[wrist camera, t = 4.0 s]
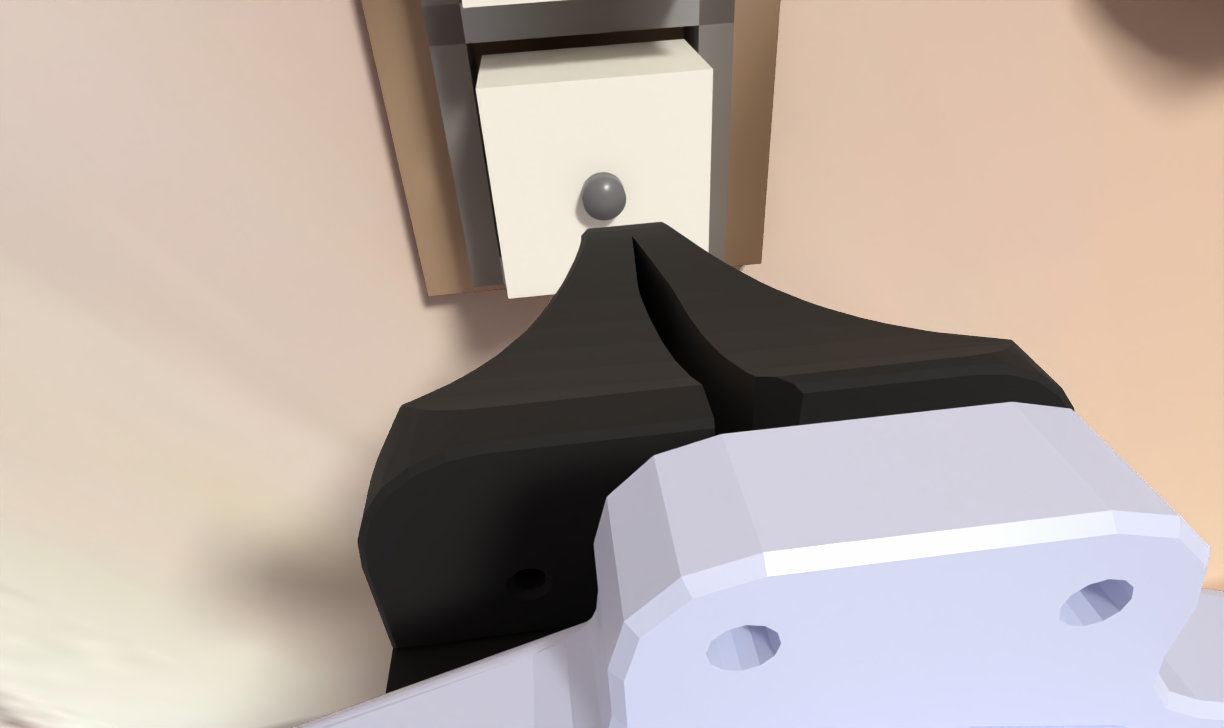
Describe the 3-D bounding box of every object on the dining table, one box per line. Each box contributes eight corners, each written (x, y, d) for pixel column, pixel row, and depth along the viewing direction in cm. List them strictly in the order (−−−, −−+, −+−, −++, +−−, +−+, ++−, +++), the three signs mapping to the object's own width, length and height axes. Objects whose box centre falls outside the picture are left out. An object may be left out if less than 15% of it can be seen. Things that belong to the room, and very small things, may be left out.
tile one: (509, 242, 19) (508, 307, 16) (482, 55, 16) (474, 94, 13) (683, 225, 19) (711, 287, 16) (683, 38, 16) (717, 73, 14)
